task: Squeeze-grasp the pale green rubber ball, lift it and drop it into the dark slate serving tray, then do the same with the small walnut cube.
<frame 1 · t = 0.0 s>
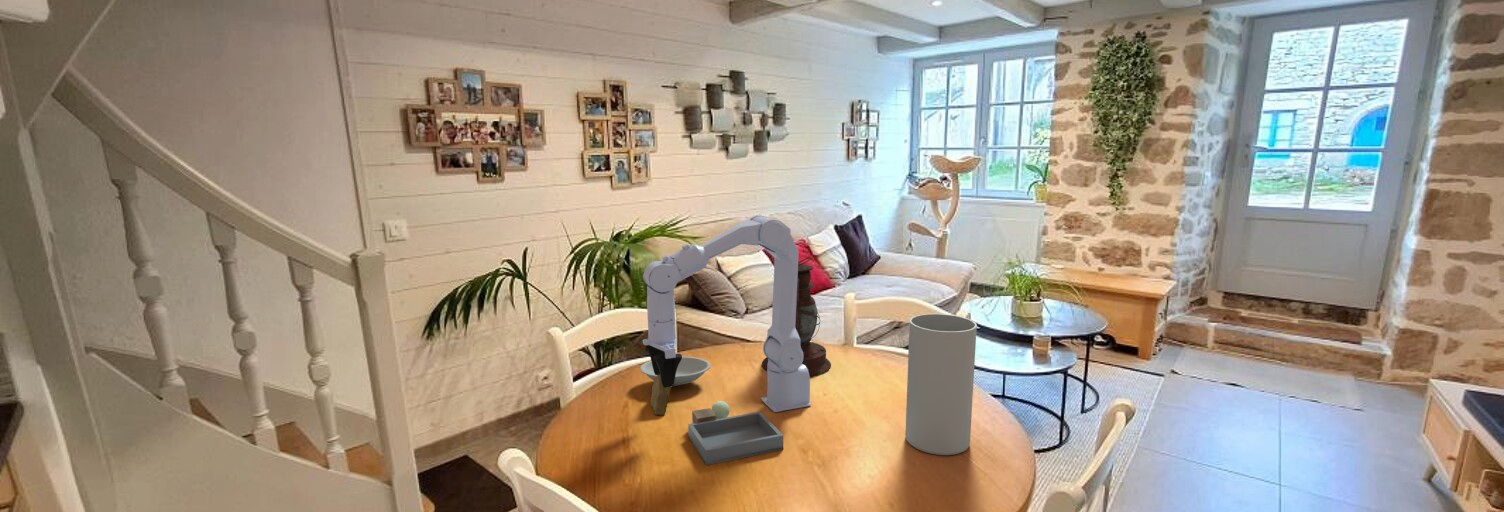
hand: (663, 380, 132), 10 cm above the table, fingers open, 7 cm apart
dish: (676, 385, 156), on the table
rock: (659, 407, 143), on the table
walnut cube: (704, 431, 131), on the table
green ball: (720, 418, 136), on the table
cylinder vase: (937, 442, 125), on the table
serving tray: (735, 443, 125), on the table
lantern: (796, 365, 169), on the table
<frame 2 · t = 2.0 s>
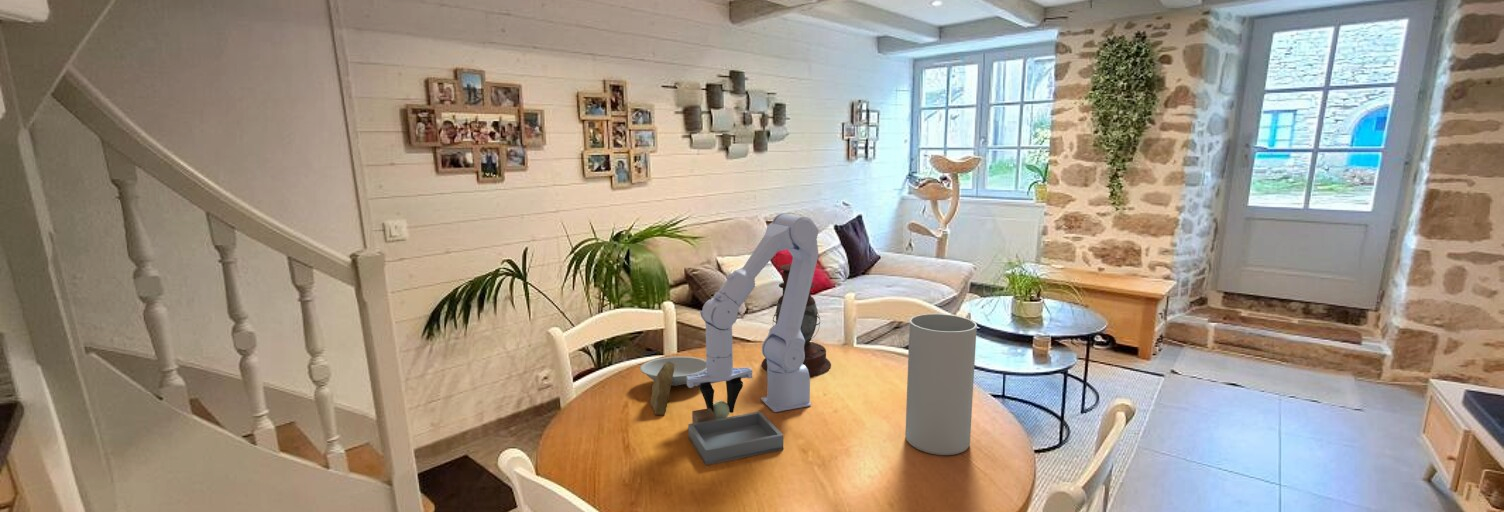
hand: (720, 412, 136), 1 cm above the table, fingers closed on green ball, 4 cm apart
walnut cube: (704, 430, 131), on the table, touching serving tray
green ball: (720, 418, 136), on the table, touching gripper
everything else where it was.
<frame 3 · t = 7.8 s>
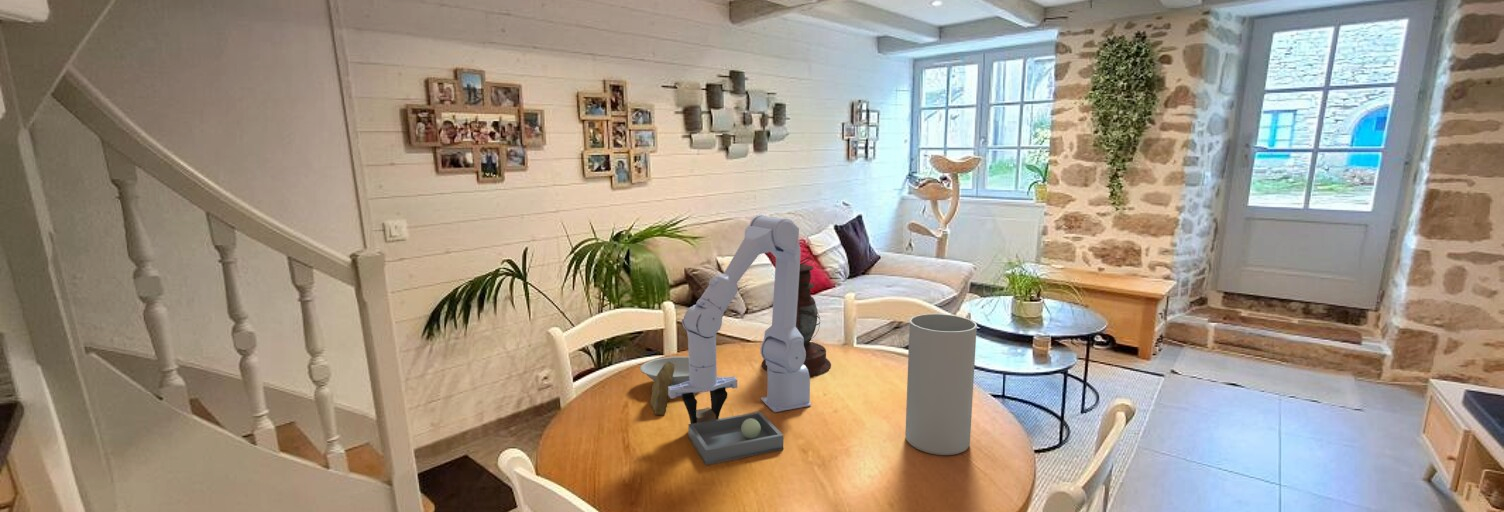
hand: (704, 424, 130), 1 cm above the table, fingers closed on walnut cube, 4 cm apart
walnut cube: (704, 430, 131), on the table, touching gripper
green ball: (750, 437, 126), point 1 cm above the table, touching serving tray
everything else where it was.
when the fingers open (4 cm above the table, at t = 10.2 s): walnut cube drops 2 cm, resting on serving tray.
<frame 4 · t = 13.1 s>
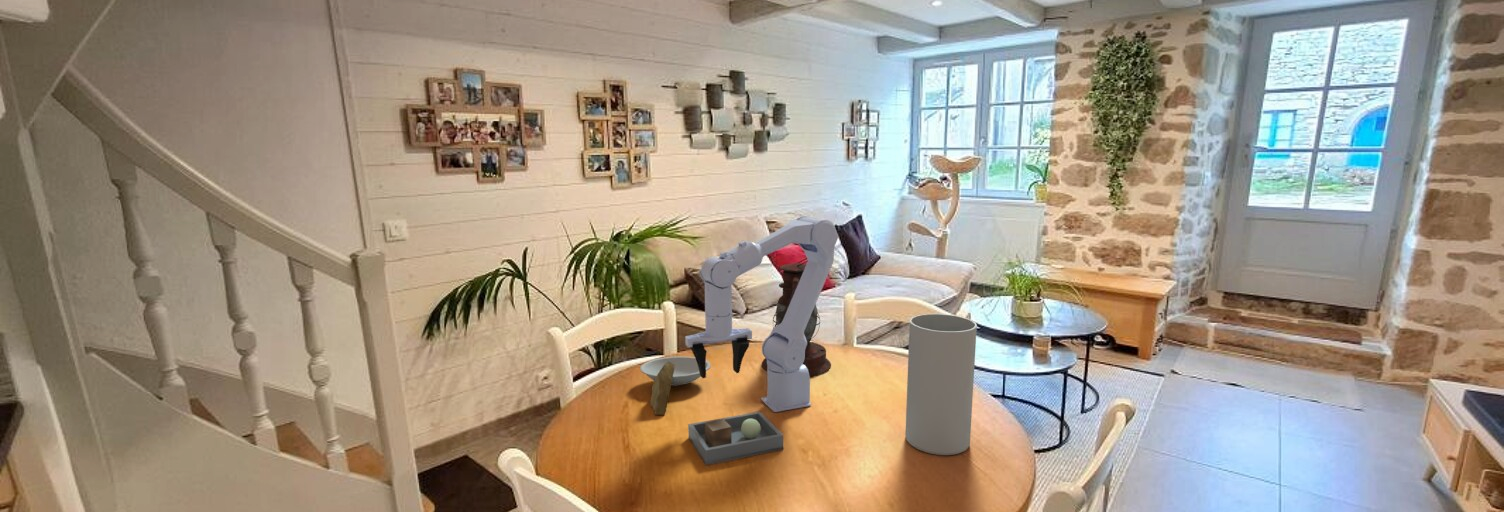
hand: (719, 374, 134), 10 cm above the table, fingers open, 7 cm apart
walnut cube: (718, 443, 124), point 1 cm above the table, touching serving tray
everything else where it was.
at the end: green ball inside the target area on the serving tray (3.4 cm from its centre), point 0.6 cm above the serving tray's base; walnut cube inside the target area on the serving tray (3.5 cm from its centre), point 0.6 cm above the serving tray's base; the gripper is holding nothing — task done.
